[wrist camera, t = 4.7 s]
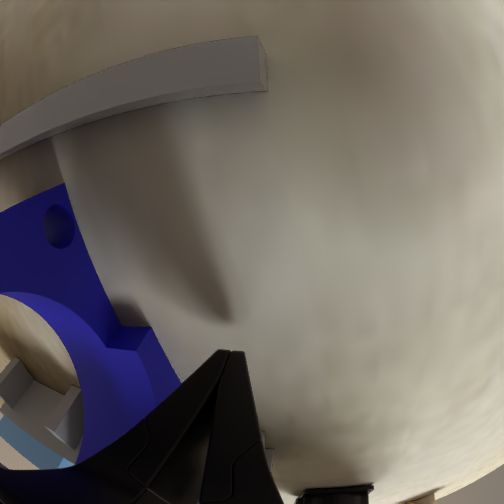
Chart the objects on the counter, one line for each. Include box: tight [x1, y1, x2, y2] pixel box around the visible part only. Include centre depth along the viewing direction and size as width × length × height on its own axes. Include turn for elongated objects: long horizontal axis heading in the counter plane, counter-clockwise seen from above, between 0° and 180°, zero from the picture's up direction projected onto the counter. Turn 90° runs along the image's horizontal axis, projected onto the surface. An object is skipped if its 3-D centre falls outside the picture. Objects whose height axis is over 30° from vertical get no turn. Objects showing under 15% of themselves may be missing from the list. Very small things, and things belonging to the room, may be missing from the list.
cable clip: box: [0, 183, 181, 465], centre depth 8 cm, size 12×4×6 cm, turn 11°
